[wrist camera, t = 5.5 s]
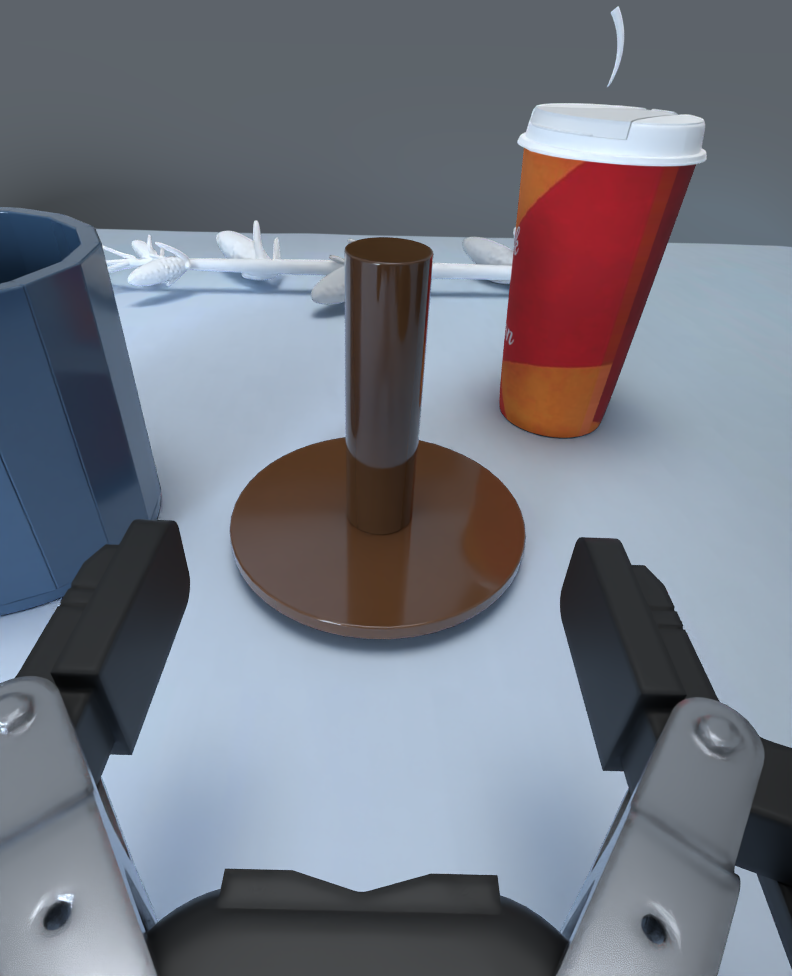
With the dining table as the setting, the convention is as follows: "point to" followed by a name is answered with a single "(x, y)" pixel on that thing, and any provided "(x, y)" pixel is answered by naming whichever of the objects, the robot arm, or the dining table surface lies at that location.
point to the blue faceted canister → (63, 410)
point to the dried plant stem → (331, 288)
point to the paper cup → (587, 254)
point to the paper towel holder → (379, 486)
